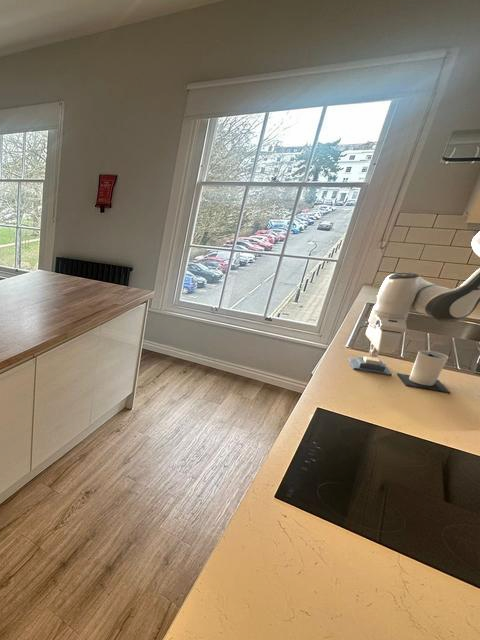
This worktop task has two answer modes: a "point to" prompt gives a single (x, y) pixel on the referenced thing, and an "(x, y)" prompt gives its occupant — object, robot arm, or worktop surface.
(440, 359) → the white mug
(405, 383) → the coaster
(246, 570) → the worktop surface
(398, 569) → the worktop surface
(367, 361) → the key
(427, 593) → the worktop surface
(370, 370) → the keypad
